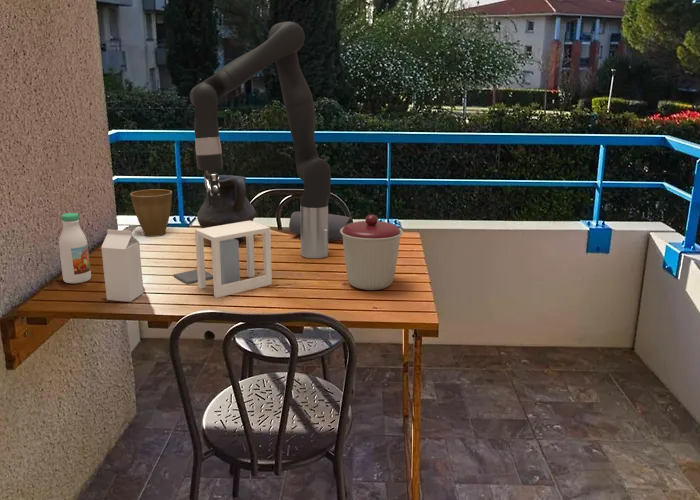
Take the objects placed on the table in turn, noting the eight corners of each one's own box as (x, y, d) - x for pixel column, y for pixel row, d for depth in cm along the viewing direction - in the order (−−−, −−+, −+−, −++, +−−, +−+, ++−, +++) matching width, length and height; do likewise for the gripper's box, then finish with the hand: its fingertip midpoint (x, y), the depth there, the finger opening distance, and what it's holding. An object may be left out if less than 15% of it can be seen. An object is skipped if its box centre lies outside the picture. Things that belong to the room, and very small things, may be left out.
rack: (198, 287, 182) (194, 229, 178) (251, 275, 194) (250, 220, 189) (216, 297, 174) (213, 237, 170) (271, 284, 186) (270, 227, 181)
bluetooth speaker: (288, 239, 235) (287, 212, 232) (300, 233, 243) (299, 207, 240) (344, 246, 226) (344, 219, 223) (354, 240, 234) (354, 213, 231)
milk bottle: (64, 285, 183) (56, 218, 177) (62, 277, 189) (54, 212, 184) (92, 281, 186) (85, 215, 181) (89, 274, 193) (82, 210, 187)
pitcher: (236, 231, 244) (234, 167, 238) (269, 242, 229) (267, 174, 222) (188, 240, 231) (184, 172, 224) (220, 253, 216) (216, 180, 209)
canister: (404, 277, 193) (407, 210, 187) (396, 297, 176) (399, 224, 170) (346, 273, 196) (347, 206, 191) (333, 292, 179) (333, 220, 174)
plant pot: (181, 230, 245) (178, 189, 241) (164, 240, 231) (160, 197, 227) (145, 228, 248) (142, 187, 243) (126, 237, 234) (122, 195, 229)
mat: (173, 276, 191) (173, 274, 191) (200, 271, 197) (200, 268, 197) (187, 284, 185) (187, 281, 184) (214, 278, 190) (214, 275, 190)
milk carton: (130, 302, 170) (124, 234, 165) (106, 300, 172) (99, 232, 166) (143, 293, 177) (138, 227, 172) (120, 291, 178) (114, 226, 173)
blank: (216, 281, 187) (214, 239, 184) (231, 278, 190) (229, 236, 187) (225, 286, 184) (223, 243, 180) (240, 282, 187) (238, 240, 183)
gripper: (224, 152, 183) (230, 208, 187) (218, 151, 197) (223, 202, 200) (198, 154, 181) (204, 210, 184) (193, 153, 194) (199, 205, 198)
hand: (214, 206), depth 192 cm, fingers open, 8 cm apart
